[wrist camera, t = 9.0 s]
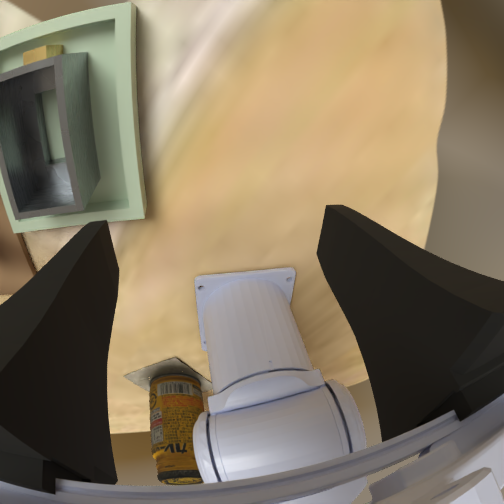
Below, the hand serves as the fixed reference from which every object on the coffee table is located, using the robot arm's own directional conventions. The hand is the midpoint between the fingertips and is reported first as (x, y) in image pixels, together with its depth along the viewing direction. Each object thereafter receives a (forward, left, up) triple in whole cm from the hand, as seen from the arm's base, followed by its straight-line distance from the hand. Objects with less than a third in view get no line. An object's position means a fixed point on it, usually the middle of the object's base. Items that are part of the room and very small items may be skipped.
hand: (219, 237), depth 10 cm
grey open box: (+3, +9, -9) cm, 13 cm away
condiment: (-26, +5, -10) cm, 28 cm away
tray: (+3, +9, -10) cm, 13 cm away
